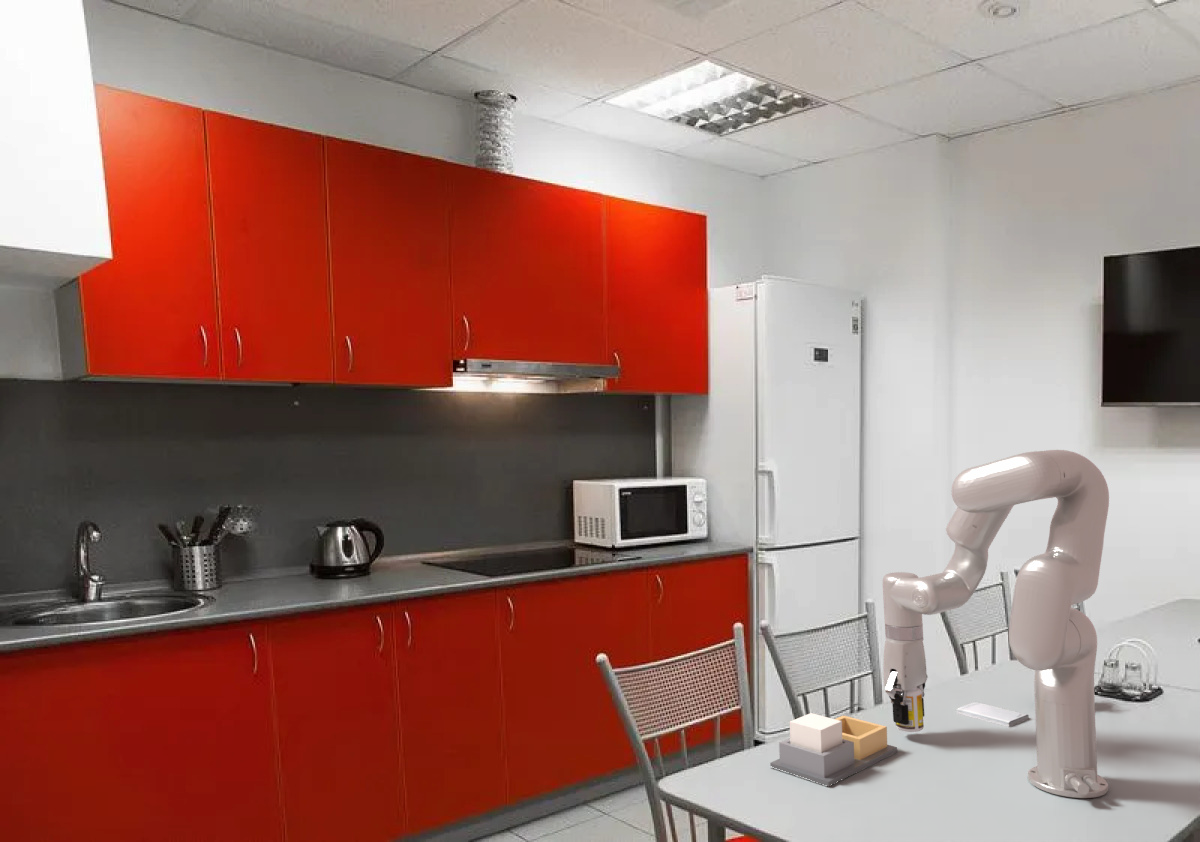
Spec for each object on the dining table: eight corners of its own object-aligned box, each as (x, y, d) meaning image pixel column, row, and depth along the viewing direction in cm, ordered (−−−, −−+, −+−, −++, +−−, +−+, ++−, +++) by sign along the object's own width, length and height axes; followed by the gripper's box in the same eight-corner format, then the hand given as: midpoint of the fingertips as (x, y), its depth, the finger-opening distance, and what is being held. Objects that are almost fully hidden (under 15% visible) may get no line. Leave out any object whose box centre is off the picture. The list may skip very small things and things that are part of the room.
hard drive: (1028, 714, 189) (976, 700, 199) (1008, 722, 185) (955, 707, 195) (1029, 721, 189) (976, 707, 199) (1009, 729, 184) (956, 715, 195)
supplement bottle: (916, 723, 183) (913, 675, 183) (928, 731, 177) (925, 681, 178) (891, 725, 182) (888, 676, 183) (902, 733, 177) (899, 683, 177)
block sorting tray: (840, 736, 182) (839, 693, 182) (897, 752, 172) (895, 707, 172) (770, 768, 166) (768, 721, 166) (828, 787, 156) (826, 737, 156)
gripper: (908, 623, 189) (913, 706, 188) (865, 637, 178) (870, 725, 177) (941, 627, 183) (946, 713, 183) (899, 642, 172) (904, 733, 171)
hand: (909, 718), depth 180 cm, fingers closed on supplement bottle, 5 cm apart
